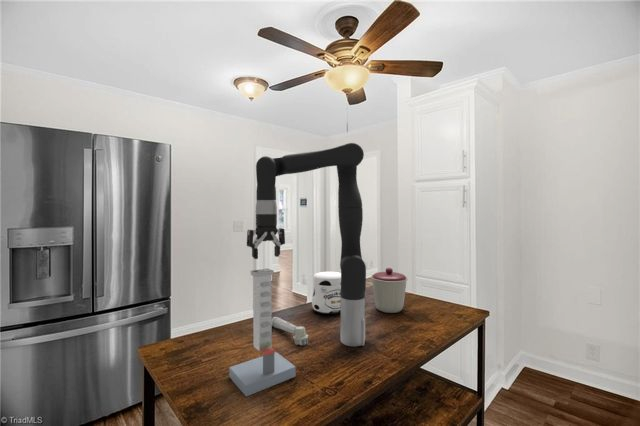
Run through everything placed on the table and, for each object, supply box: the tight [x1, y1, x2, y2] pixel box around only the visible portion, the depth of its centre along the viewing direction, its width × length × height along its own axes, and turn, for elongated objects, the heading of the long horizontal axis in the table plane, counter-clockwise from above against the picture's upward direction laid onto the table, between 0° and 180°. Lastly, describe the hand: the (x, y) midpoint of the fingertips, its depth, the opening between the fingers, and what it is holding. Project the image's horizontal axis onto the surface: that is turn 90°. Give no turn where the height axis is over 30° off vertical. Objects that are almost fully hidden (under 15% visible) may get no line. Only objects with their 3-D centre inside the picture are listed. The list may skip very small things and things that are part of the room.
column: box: [250, 268, 275, 352], centre depth 91 cm, size 6×5×23 cm
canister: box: [370, 267, 409, 314], centre depth 152 cm, size 18×18×21 cm
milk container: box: [311, 271, 341, 315], centre depth 150 cm, size 17×17×18 cm
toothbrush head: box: [272, 316, 309, 346], centre depth 122 cm, size 5×7×25 cm
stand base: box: [228, 347, 297, 397], centre depth 92 cm, size 16×12×10 cm
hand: (266, 257), depth 110 cm, fingers open, 8 cm apart
